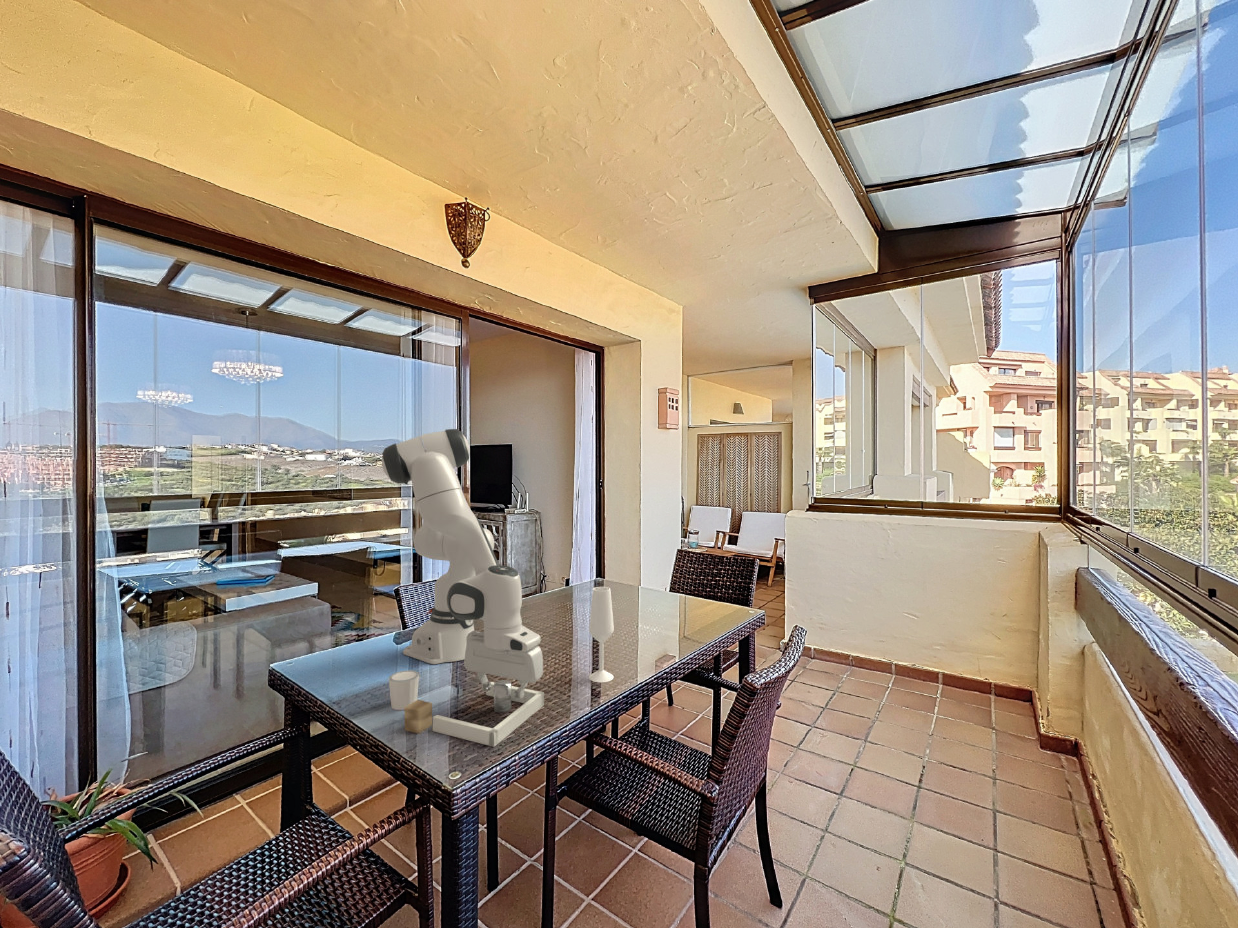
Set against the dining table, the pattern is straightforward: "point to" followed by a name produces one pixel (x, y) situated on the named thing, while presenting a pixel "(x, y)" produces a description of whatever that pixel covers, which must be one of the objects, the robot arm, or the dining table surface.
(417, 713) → the oak block
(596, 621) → the champagne flute
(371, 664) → the dining table surface
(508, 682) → the steel part
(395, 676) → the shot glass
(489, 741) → the frame
